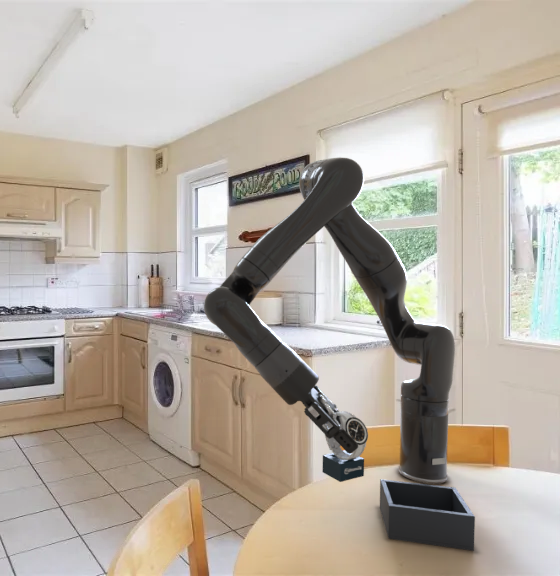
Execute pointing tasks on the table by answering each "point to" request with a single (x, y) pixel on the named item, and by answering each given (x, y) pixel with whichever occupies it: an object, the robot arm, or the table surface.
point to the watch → (340, 461)
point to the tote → (426, 514)
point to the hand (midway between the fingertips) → (352, 441)
